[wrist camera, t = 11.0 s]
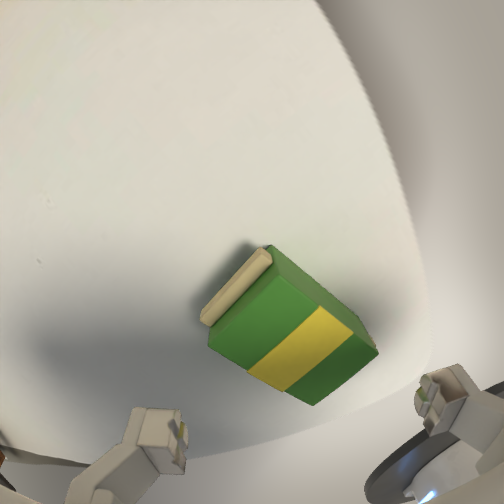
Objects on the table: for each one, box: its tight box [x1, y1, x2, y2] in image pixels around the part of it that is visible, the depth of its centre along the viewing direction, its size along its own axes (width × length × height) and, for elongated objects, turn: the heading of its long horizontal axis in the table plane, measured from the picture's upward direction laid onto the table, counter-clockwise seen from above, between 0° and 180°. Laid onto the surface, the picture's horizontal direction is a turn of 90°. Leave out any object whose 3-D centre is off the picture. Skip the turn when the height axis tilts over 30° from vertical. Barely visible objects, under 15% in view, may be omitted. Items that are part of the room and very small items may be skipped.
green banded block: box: [200, 245, 379, 406], centre depth 13 cm, size 4×7×3 cm, turn 49°
